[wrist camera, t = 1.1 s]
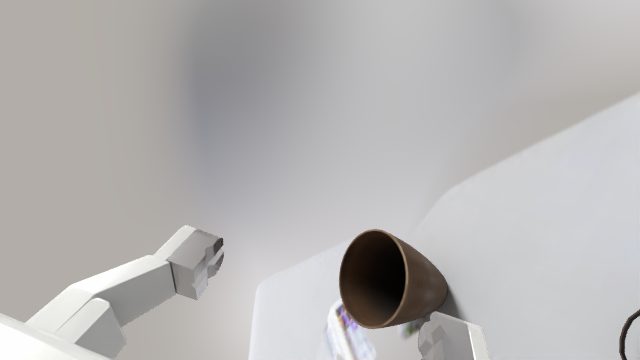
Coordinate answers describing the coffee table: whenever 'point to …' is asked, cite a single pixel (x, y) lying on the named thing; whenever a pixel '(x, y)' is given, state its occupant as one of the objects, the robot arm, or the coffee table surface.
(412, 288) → the plant pot
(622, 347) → the binoculars
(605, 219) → the coffee table surface
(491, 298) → the coffee table surface
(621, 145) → the coffee table surface
